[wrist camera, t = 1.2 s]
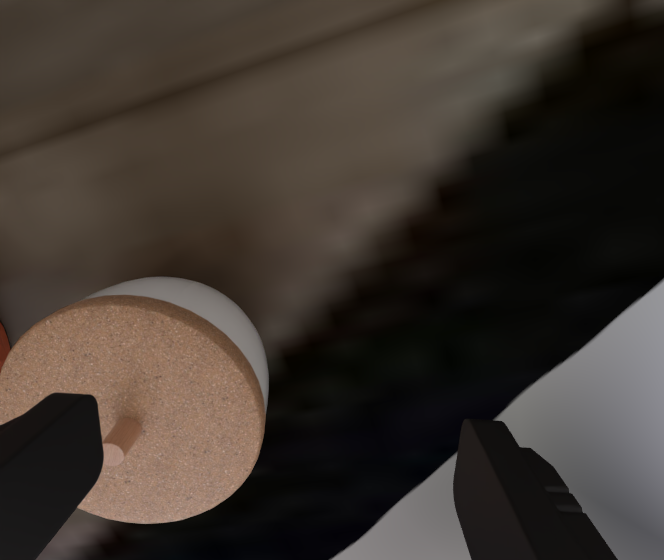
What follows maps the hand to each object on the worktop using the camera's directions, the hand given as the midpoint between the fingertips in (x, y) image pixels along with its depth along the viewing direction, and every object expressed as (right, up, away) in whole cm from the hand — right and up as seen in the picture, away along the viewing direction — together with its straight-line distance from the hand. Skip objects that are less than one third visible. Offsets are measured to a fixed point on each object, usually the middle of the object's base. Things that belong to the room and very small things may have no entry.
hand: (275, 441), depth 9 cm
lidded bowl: (-8, -1, +19) cm, 21 cm away
